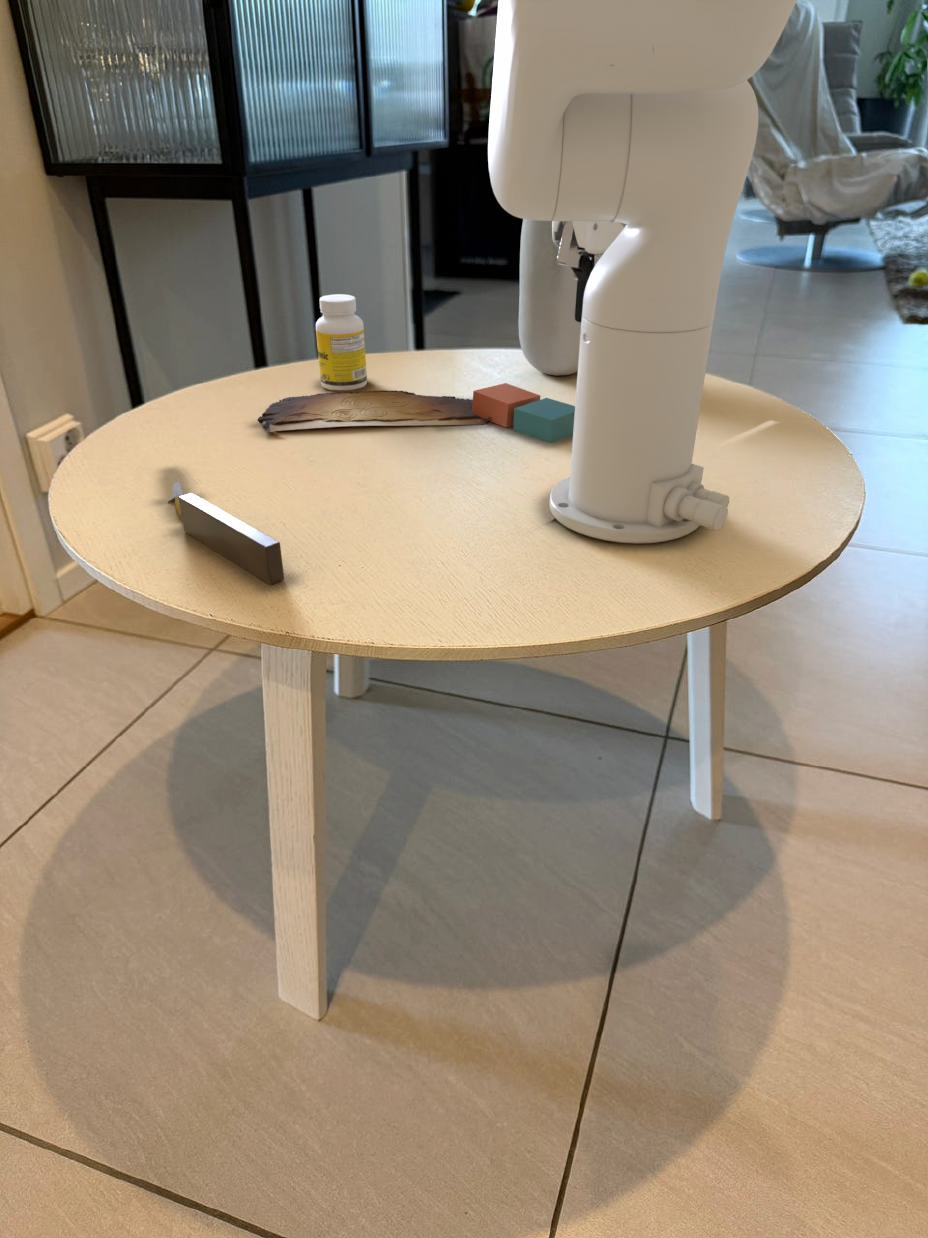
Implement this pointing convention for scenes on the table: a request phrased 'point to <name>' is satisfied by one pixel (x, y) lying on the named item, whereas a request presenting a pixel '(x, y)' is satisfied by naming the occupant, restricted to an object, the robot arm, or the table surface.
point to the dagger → (177, 493)
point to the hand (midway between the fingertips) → (591, 321)
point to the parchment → (367, 410)
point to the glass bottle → (547, 303)
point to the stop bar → (232, 538)
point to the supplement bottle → (341, 344)
